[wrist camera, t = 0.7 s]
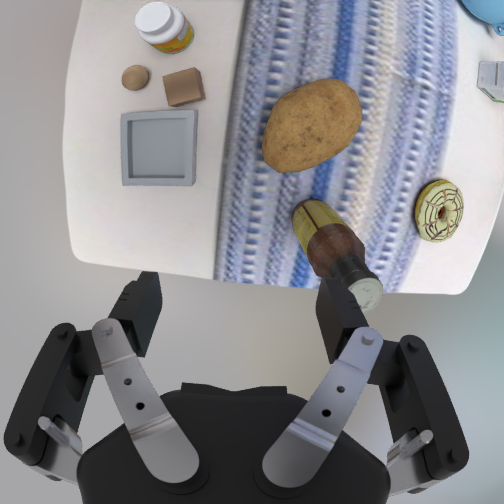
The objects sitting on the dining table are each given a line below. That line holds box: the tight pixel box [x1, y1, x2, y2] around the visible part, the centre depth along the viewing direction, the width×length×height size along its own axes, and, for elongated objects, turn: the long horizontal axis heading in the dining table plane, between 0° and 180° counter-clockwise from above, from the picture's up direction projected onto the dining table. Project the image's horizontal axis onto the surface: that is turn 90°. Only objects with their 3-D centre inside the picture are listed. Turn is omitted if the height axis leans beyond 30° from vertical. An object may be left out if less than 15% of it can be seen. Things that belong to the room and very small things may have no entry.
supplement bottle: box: [135, 2, 194, 54], centre depth 22 cm, size 5×5×10 cm
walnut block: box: [163, 67, 206, 107], centre depth 29 cm, size 4×4×4 cm
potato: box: [262, 79, 362, 173], centre depth 30 cm, size 10×14×8 cm
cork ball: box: [122, 65, 148, 90], centre depth 28 cm, size 4×4×4 cm
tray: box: [121, 110, 198, 186], centre depth 33 cm, size 10×10×2 cm
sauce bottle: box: [292, 199, 383, 314], centre depth 31 cm, size 6×6×20 cm
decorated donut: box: [415, 180, 464, 242], centre depth 37 cm, size 10×11×4 cm
